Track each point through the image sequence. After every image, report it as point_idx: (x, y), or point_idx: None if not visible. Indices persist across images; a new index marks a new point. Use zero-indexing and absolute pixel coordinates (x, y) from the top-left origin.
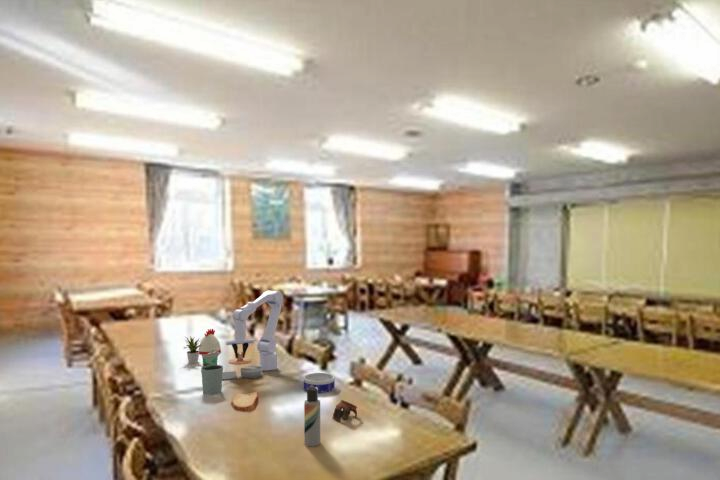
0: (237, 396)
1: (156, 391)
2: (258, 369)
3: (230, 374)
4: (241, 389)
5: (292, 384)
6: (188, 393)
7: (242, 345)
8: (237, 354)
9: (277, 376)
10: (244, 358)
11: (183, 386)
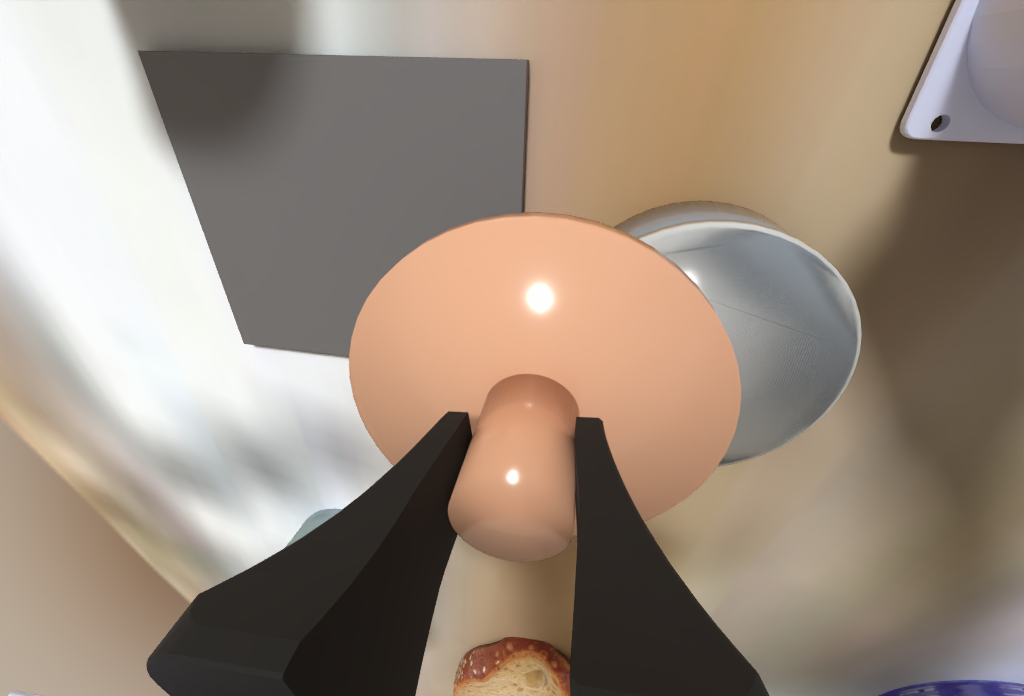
0: (477, 686)
1: (27, 411)
2: (756, 441)
3: (451, 222)
4: (518, 569)
5: (877, 629)
6: (230, 508)
7: (572, 634)
8: (455, 536)
9: (927, 440)
10: (636, 313)
11: (135, 383)
